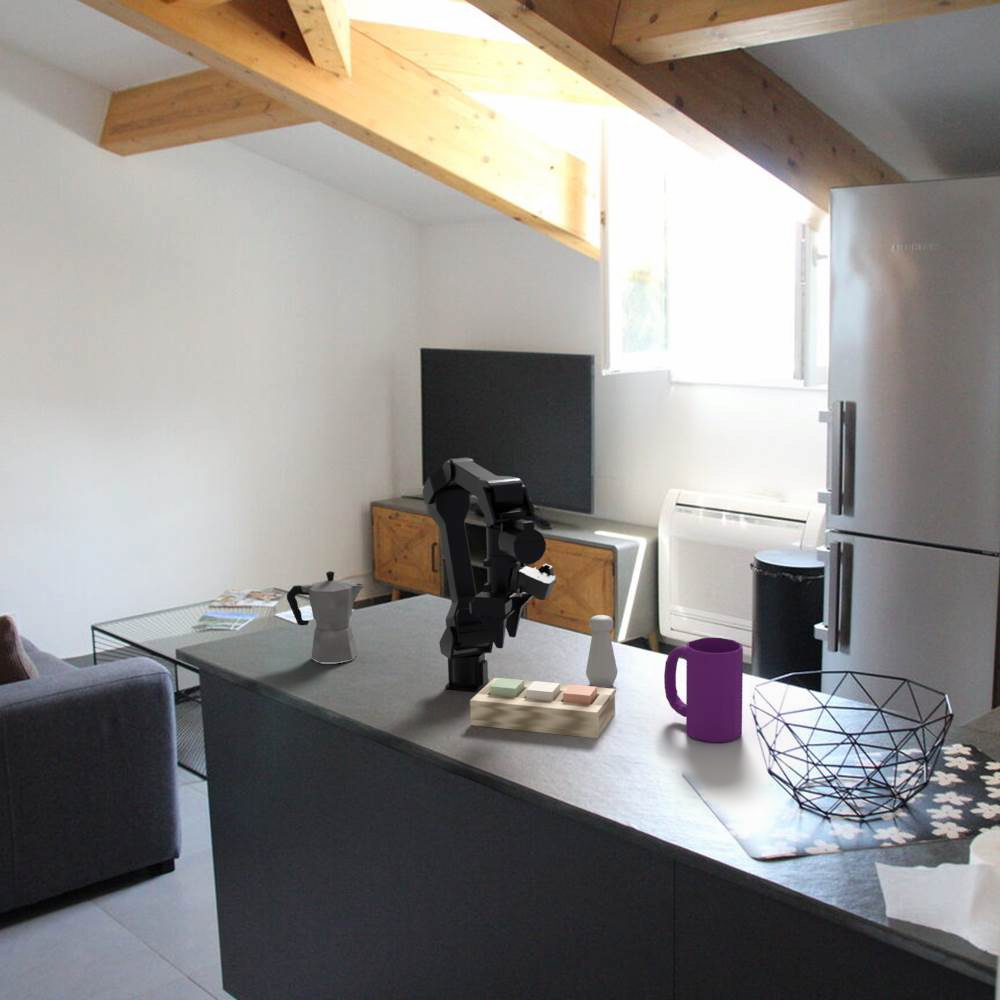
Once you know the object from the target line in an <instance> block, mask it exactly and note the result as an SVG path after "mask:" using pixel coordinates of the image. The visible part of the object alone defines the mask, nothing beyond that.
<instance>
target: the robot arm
mask: <svg viewBox="0 0 1000 1000" xmlns="http://www.w3.org/2000/svg"><path fill="white" fill-rule="evenodd" d="M473 495H474V496H475V497H476V498H477V506H478V507H479V509H480V510H481V511H482V514H483V515H484V516H483V519H482V523H484V524H485V531H486V558H485V559H483V561H482V562H483V563H482V565H483V566H482V567H485V568H487V570H486V571H487V572H486V573H487V582H486V583H484V584H483V591H481V592H479V593H477V590H476V582H475V578H474V577H475V576H474V571H473V565H472V559H471V553H470V552H471V551H470V548H469V547H470V546H469V541H468V535H467V528H466V519H467V516H468V515H469V512H470V509H471V505H472V504H471V498H472V496H473ZM529 495H530V494H529V492H528V490H527V488H526V486H525V484H524V483H523V481H522V480H521V479H520V478H519V477H515V476H509V475H508V476H507V475H496V474H494V473H492V472H491V471H489V470H487V469H486V468H484V467H482V466H481V465H480V464H477V463H476V462H475V460H474V459H473V458H469V457H460V458H450V459H448V460H445V461H444V463H443V465H442V467H441V468H439V469H438V470H435V472H433V473H432V474H430V475H429V476H428V478H427V480H426V482H425V483H424V486H423V488H422V498H423V501H424V504H426V507H427V514H428V515H429V516H430V518H431V519H432V521H434V522H435V523H436V525H437V526H438V527H439V533H440V539H441V545H442V550H443V557H444V564H445V569H446V576H447V581H448V587H449V594H450V601H451V604H450V607H449V610H448V612H447V615H446V617H445V626H446V627H445V629H444V632H443V633H442V636H441V638H440V640H439V642H438V643H439V648H440V654H441V655H443V656H445V657H446V658H447V671H448V672H447V673H448V675H447V677H448V683H446V684H445V685H444V688H445V689H449V690H458V691H470V692H479V691H480V690H482V689H483V688H484V687H485V686H486V685H487V684H488V683H489V682H490V681H489V680H490V679H489V669H488V668H489V667H488V660H487V659H486V654H492V652H493V647H494V645H495V648H496V649H503V648H504V645H505V636H506V632H507V635H508V637H509V638H515V637H517V634H518V630H519V625H520V620H521V617H522V612H523V609H524V606H525V605H526V603H528V602H529V601H530V599H532V598H533V597H534V598H535V599H536V600H539V601H545V600H546V599H547V598H548V597H550V596H551V594H552V590H553V588H554V586H555V584H556V583H557V580H556V577H557V576H556V575H555V573H554V572H555V571H554V566H553V565H551V564H548V563H544V564H543V565H542V566H541V567H539V568H538V569H537V567H536V566H535V567H531V566H527V565H532V564H536V563H537V562H538V561H540V560H541V559H542V558H543V556H544V555H545V552H546V546H547V542H546V540H545V537H544V536H543V534H542V533H541V531H539V530H537V529H535V522H534V521H535V520H536V514H535V512H536V509H535V506H534V505H533V502H532V499H531V497H530V496H529Z"/></svg>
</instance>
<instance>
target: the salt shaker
mask: <svg viewBox="0 0 1000 1000" xmlns="http://www.w3.org/2000/svg"><path fill="white" fill-rule="evenodd" d="M589 628H590V630H592V634H591V641H590V645H589V651H588V657H587V662H586V663H587V664H586V670H585V676H586V677H587V680H588V682H589V686H594V687H600V688H612V687H613V686H614V684H615V681H616V678H617V676H618V666H617V662H616V657H615V652H614V647H613V643H612V637H611V633H610V631H611V630H613V628H614V620H613V618H612V617H610V615H606V614H598V615H594V616H592V617H591V618H590V619H589Z"/></svg>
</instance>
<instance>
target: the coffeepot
mask: <svg viewBox="0 0 1000 1000" xmlns="http://www.w3.org/2000/svg"><path fill="white" fill-rule="evenodd" d="M325 575H326V578H327V580H322V581H318V582H314V583H312V584H302V585H299V584H297V585H293V586H292V587H291V588H290V589H289V591H288V592H287V594H286V600H287V602H288V604H289V607H290V609H291V611H292V613H293V615H294V616H293V617H294V619H295V621H296V624H297V625H298V626H308V624H309V622H310V621H309V620H305V619H303V618H302V612H301V611H302V610H301V609H300V608H299V604H298V601H297V598H296V597H297V596H298V595H302V596H308V598H309V603H310V607H311V612H312V617H313V619H314V620H315V628H314V631H313V632H314V633H313V640H312V650H311V656H310V657H311V658H313V659H315V660H317V661H319V662H341V661H345V660H346V661H347V660H351V659H353V658H354V657H355V656H356V655H357V656H358V651H357V646H356V642H355V638H354V634H353V628H352V626H351V625H350V624H351V623H350V618H351V617H352V615H353V606H354V603H355V601H356V599H357V598H358V595H359V593H360V592H361V590H362V589H364V588H365V586H364V584H362V583H358V582H350V581H347V580H339V579H334V578H335V571H330V570H329V571H326V573H325ZM357 656H356V657H357Z"/></svg>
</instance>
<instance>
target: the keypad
mask: <svg viewBox="0 0 1000 1000" xmlns="http://www.w3.org/2000/svg"><path fill="white" fill-rule="evenodd" d="M498 678H499V677H493V679H491V680H490V681H488V682H487V683H486V684H485V685H484V686H483V687H482V688H481V689H480V690H479V691H477V693H476V694H475V695H474V696H473V697H472V698H471V699H469V706H470V707H469V708H470V726H476V727H477V726H478V727H486V728H494V729H495V728H496V729H505V730H514V731H515V730H516V731H522V732H525V731H526V732H535V733H543V734H553V735H554V734H555V735H561V736H562V735H563V736H571V737H582V738H591V739H598V738H599V737H600V736H601V734H602V733H603V731H604V730H605V729H606V728H607V725H608V724H609V723H610V722H611V720H612V719H613V717H615V714H616V688H612V687H608V688H600V687H597V699H596V700H595V701H594V702H593V704H592V705H589V704H579V703H568V702H563V693H564V692H565V690H566V689H567V688H568V687H569V686H570V685H571V684H565V683H560V695H559V696H558V697H557V698H556V699H555V700H554V701H548V700H537V699H527V698H526V689H527V688H528V687H529V686H530V685H531V684H532V683H533V682H534V681H535V680H534V681H532V680H524V691H523V692H522V693H521V694H520V695H519V696H518V697H517V698H516V697H506V696H495V695H490V686H491V685H492V684H493V683H494V682H495V681H496V680H497V679H498Z"/></svg>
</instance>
